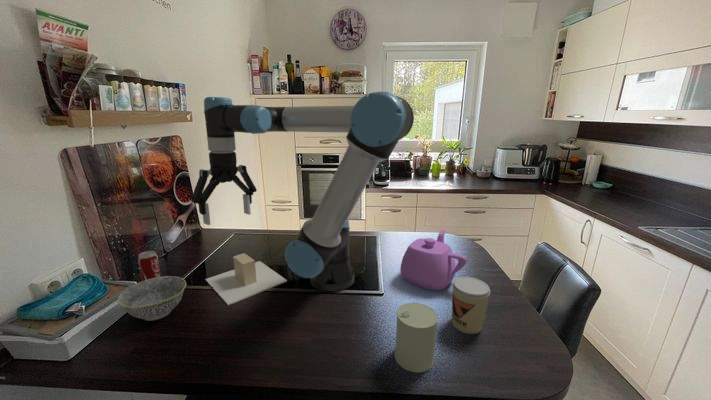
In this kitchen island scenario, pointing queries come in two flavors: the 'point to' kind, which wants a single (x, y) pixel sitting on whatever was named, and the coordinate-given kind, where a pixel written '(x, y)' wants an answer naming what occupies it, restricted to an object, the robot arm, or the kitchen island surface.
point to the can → (415, 337)
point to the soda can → (149, 265)
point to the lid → (244, 279)
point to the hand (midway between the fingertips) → (228, 218)
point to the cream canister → (469, 304)
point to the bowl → (153, 297)
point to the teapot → (430, 263)
